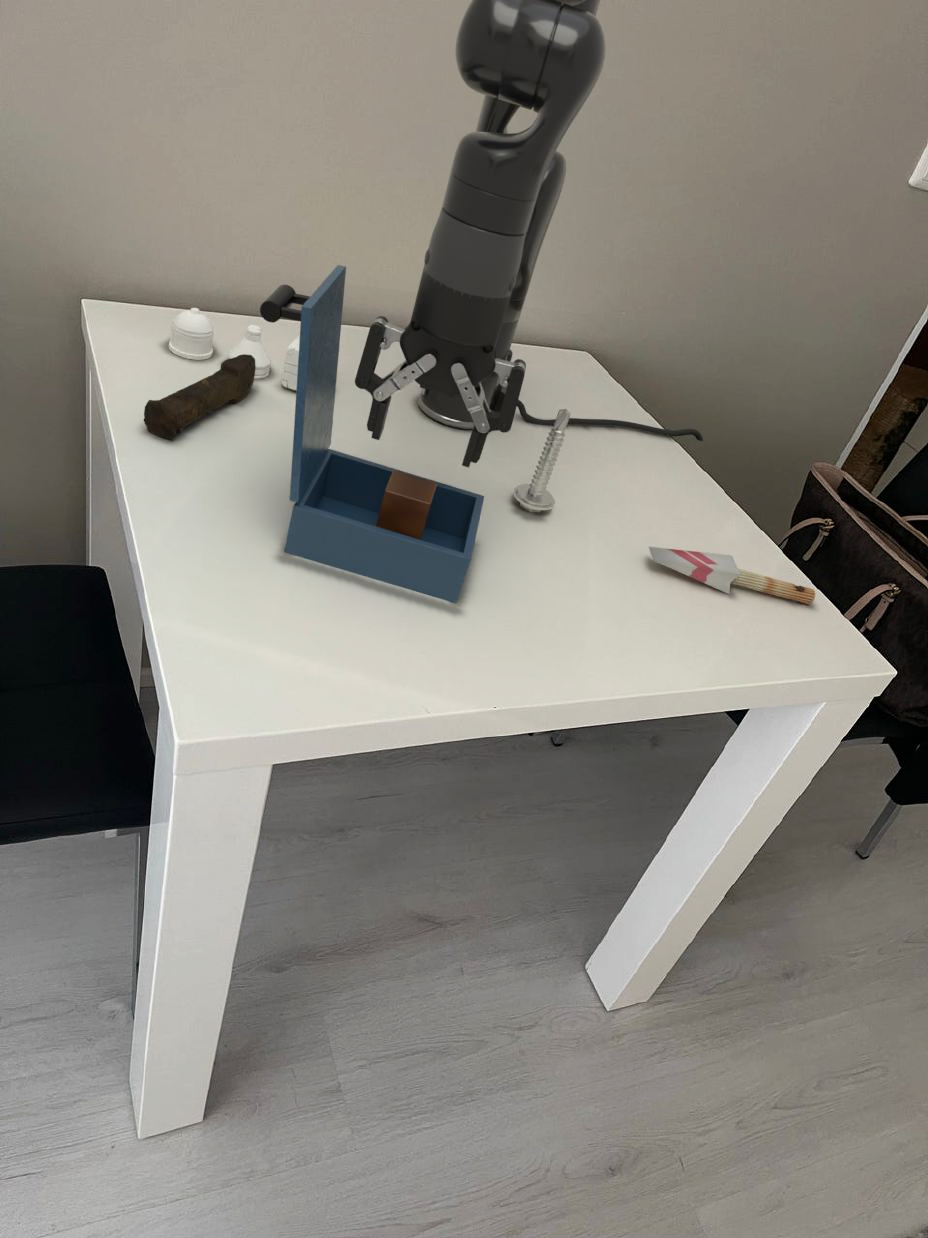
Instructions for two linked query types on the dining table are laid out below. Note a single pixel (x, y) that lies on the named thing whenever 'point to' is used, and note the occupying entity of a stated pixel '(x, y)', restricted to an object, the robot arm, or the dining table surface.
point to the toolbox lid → (312, 369)
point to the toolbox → (349, 540)
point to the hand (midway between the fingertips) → (421, 449)
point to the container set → (196, 343)
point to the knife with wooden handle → (726, 573)
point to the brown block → (406, 504)
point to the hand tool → (200, 397)
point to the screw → (544, 470)
